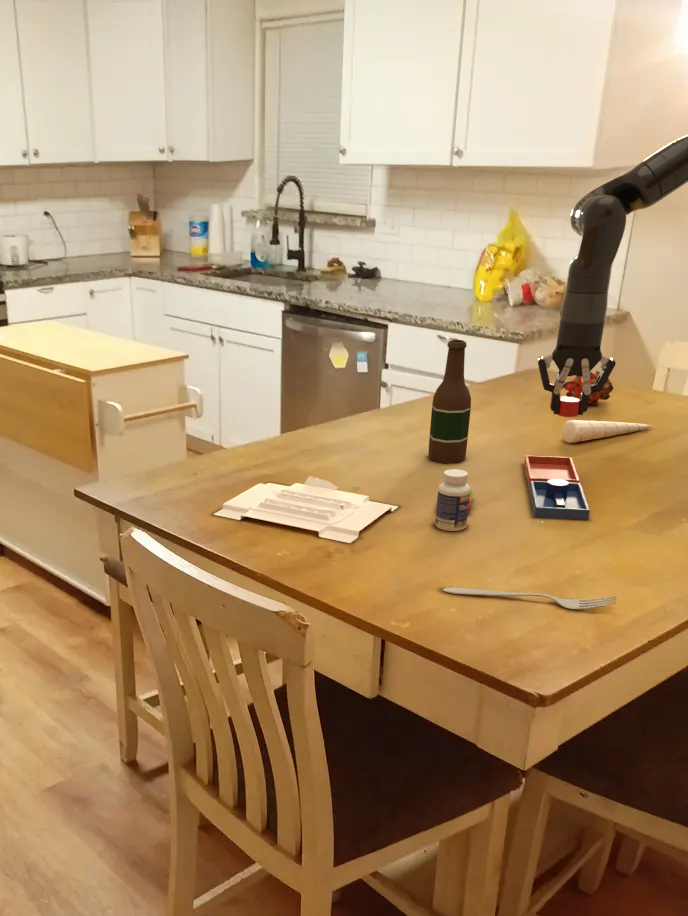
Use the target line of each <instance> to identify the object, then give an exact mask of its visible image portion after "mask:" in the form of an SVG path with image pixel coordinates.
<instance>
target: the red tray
mask: <svg viewBox="0 0 688 916" xmlns="http://www.w3.org/2000/svg"><path fill="white" fill-rule="evenodd" d="M574 463H575V462H574V460H573V458H572V456H554V455H553V456H549V455H529V454H527V455H524V461H523V466H524V471H525V475H526V476H525V477H526V481H527V487H528V488H529V489H530V481H546V482H547V481H548V480H551V479H561V480H565V481H568V482H569V483H580V478H579V474H578V472H577V469H576V466H575V464H574Z"/></svg>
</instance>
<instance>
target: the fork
mask: <svg viewBox="0 0 688 916" xmlns="http://www.w3.org/2000/svg"><path fill="white" fill-rule="evenodd" d="M442 591H443V592H444V593H449V594H453V595H454V594H455V595H469V596H470V595H472V596H491V597H492V596H493V597H494V596H495V597H541V598H547V599H549V600H552V601H553V602H555V603H556V604H558V606H559V605H560V606H561V607H563V608H565V609H570V610H586V609H594V608H600V607H601V608H602V607H607V606H612V605H617V597H618V596H617V595H613V596H606V597H595V598H585V599H584V598H560V597H556V596H555V595H554V596H553V595H550V594H546V593H538V592H517V591H516V592H515V591H502V590H501V591H500V590H488V589H477V588H469V587H468V588H466V587H458V586H457V587H454V586H452V587H451V586H449V587H444V588H443V589H442Z"/></svg>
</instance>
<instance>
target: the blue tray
mask: <svg viewBox="0 0 688 916" xmlns="http://www.w3.org/2000/svg"><path fill="white" fill-rule="evenodd" d="M546 487H547V482H546V481H530V488H529V489H528V491H529V496H530V501H531V504H532V511H533V516H534V518H538V519H540V518H541V519H561V520H580V521H589V518H590V512H591V509H590V507H589V504H588V501H587V498H586V495H585V492H584V489H583V487H582V483H581V482H579V483H569V486H568V493H567V498H566V499H564V502H565V508H556V507H555V506H554V502H553V500H552V499H548V498H546V497H545V494H546Z"/></svg>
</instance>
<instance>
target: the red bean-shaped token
mask: <svg viewBox="0 0 688 916" xmlns="http://www.w3.org/2000/svg"><path fill="white" fill-rule="evenodd" d="M580 402H581V400H580V399H578V398H574V397H568V396H566V395H561V397H560V404H559V411H558V414H556V415H557V416H558V417H564V418H577V417H578V416H579V415H578V414H579V408H580Z"/></svg>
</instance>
